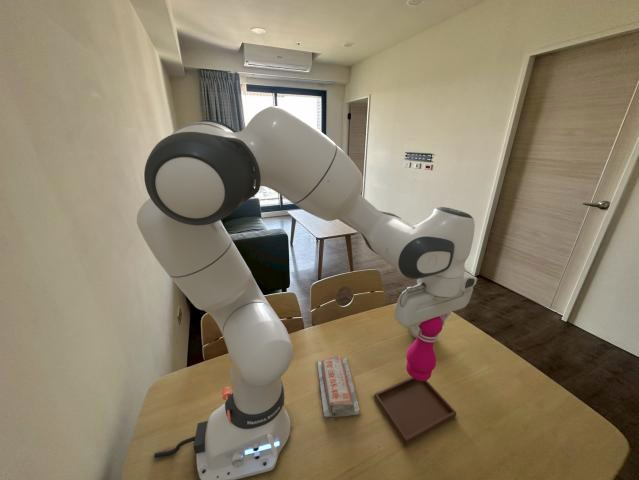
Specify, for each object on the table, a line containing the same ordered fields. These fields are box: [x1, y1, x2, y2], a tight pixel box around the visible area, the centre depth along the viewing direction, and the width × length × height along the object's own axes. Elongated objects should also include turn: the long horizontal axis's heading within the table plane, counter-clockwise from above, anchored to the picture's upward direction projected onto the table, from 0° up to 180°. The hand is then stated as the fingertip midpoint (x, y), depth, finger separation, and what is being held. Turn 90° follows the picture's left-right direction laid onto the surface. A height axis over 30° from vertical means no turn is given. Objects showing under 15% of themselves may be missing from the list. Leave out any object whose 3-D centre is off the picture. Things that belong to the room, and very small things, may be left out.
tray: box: [373, 376, 457, 446], centre depth 70 cm, size 17×13×2 cm
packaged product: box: [317, 355, 361, 419], centre depth 75 cm, size 18×5×10 cm
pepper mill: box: [405, 316, 444, 381], centre depth 63 cm, size 7×7×20 cm
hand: (427, 328), depth 61 cm, fingers closed on pepper mill, 6 cm apart
